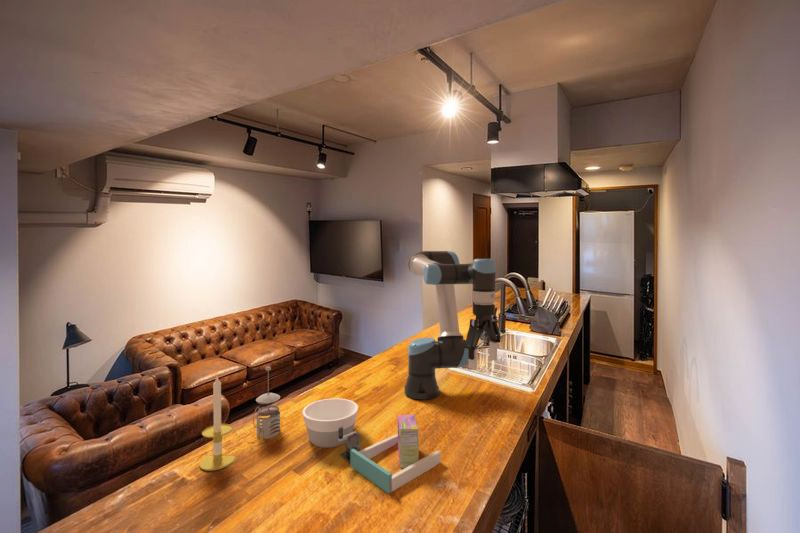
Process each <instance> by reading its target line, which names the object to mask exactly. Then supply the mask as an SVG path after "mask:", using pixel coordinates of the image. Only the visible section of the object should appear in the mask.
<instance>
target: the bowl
mask: <svg viewBox="0 0 800 533" xmlns="http://www.w3.org/2000/svg"><path fill="white" fill-rule="evenodd" d="M359 408H360V407H359V405H358V404H357V403H356V402H355V401H353V400H350V399H346V398H340V397H339V398H325V399H319V400H316V401H313V402H311V403H309V404H307V405H306V406H305V407H303V409H302V411H301V412H302V414H301V415H302V417H303V420H304V421H303V422H304V424H305V427H306V432H307V435H308V439H309V441H310V443H311V444H312V445H314V446H316V447H318V448H319V447H320V448H334V447H339V446H342V445H344V444H346V440H344V441H341V442H339V441H338V428H339V427H343V436H344V435H347V434H348V433H351V432H354V429H355V424H356V420H357V417H358V414H359V413H358V412H359Z"/></svg>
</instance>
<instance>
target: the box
mask: <svg viewBox="0 0 800 533" xmlns="http://www.w3.org/2000/svg"><path fill="white" fill-rule="evenodd" d="M396 418H397V420H396V421H397V434H398V443H397V452H398V459H399V466H400V468H401V469H404V468H406V467H408V466H410V465H412V464H413V463H415V462H417V461H419V460H420V458H419V456H420V455H419V452H420V451H419V449H420V448H419V446H420V445H419V434H420V432H419V426H418V423H417V420H416V417H415V414H399V415H397V417H396Z"/></svg>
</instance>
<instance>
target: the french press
mask: <svg viewBox="0 0 800 533" xmlns="http://www.w3.org/2000/svg"><path fill="white" fill-rule="evenodd" d="M264 370H265V371H267V392H266V393H263V394H261V395H259V396H258V397H256V399H255V401H256V403H257V404H260V405H262V404H263V405H265V406H261V407H260V406H257V407H256V408H255V410H254V413H253V416H252V424H253V426H254V428H255V429H256V436H257V438H258V439H263V440H264V439H265V440H266V439H271V438H274V437H277V436H278V435H279V434H280V431H279V430H281V412H280V407H279V406H276V405H270V404H273V403H275V402H277V401H279V400H280V398H281V396H280V394H277V393H274V392H269V391H270V390H269V388H270V387H269V386H270V385H269V383H270V382H269V381H270V380H269V378H270V376H269V374H270V373H269V371H271V370H272V367H271V366H270V365H269V366H266V367H265V369H264ZM266 404H267V405H266ZM257 409H258V410H257ZM256 411H257V414H256ZM255 414H256V425H255V418H254V417H255Z"/></svg>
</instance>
